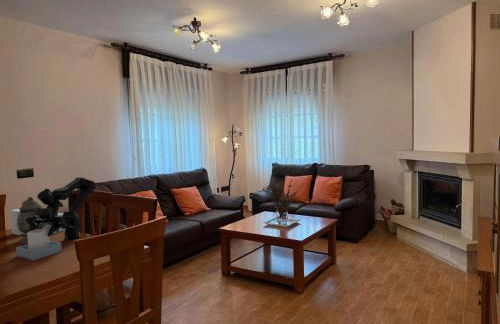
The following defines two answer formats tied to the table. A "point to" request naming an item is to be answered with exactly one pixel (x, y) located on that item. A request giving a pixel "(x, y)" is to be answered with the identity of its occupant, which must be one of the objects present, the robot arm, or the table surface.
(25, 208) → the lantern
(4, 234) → the table surface
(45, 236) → the white upright carton
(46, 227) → the light bulb box
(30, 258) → the tray
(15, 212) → the supplement box
